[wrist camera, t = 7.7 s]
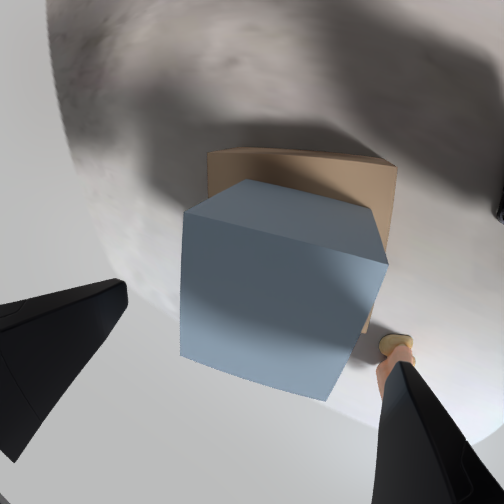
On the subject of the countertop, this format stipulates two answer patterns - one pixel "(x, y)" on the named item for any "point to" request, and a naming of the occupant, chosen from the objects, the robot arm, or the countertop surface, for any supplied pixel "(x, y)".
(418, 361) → the countertop surface
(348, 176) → the tan flat block
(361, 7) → the countertop surface
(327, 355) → the slate-blue cube
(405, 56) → the countertop surface
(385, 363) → the grandmother figurine
